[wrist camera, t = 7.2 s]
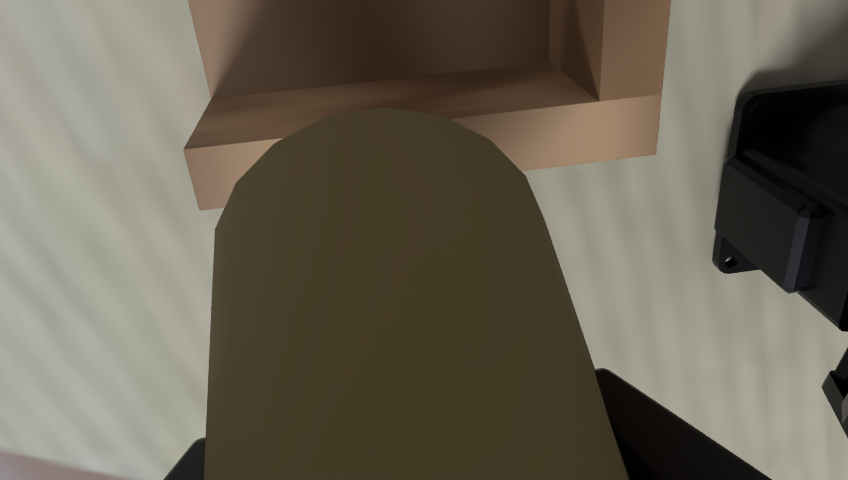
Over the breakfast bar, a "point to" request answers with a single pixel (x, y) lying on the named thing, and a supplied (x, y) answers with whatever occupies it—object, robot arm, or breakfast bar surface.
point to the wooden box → (430, 75)
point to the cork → (395, 316)
